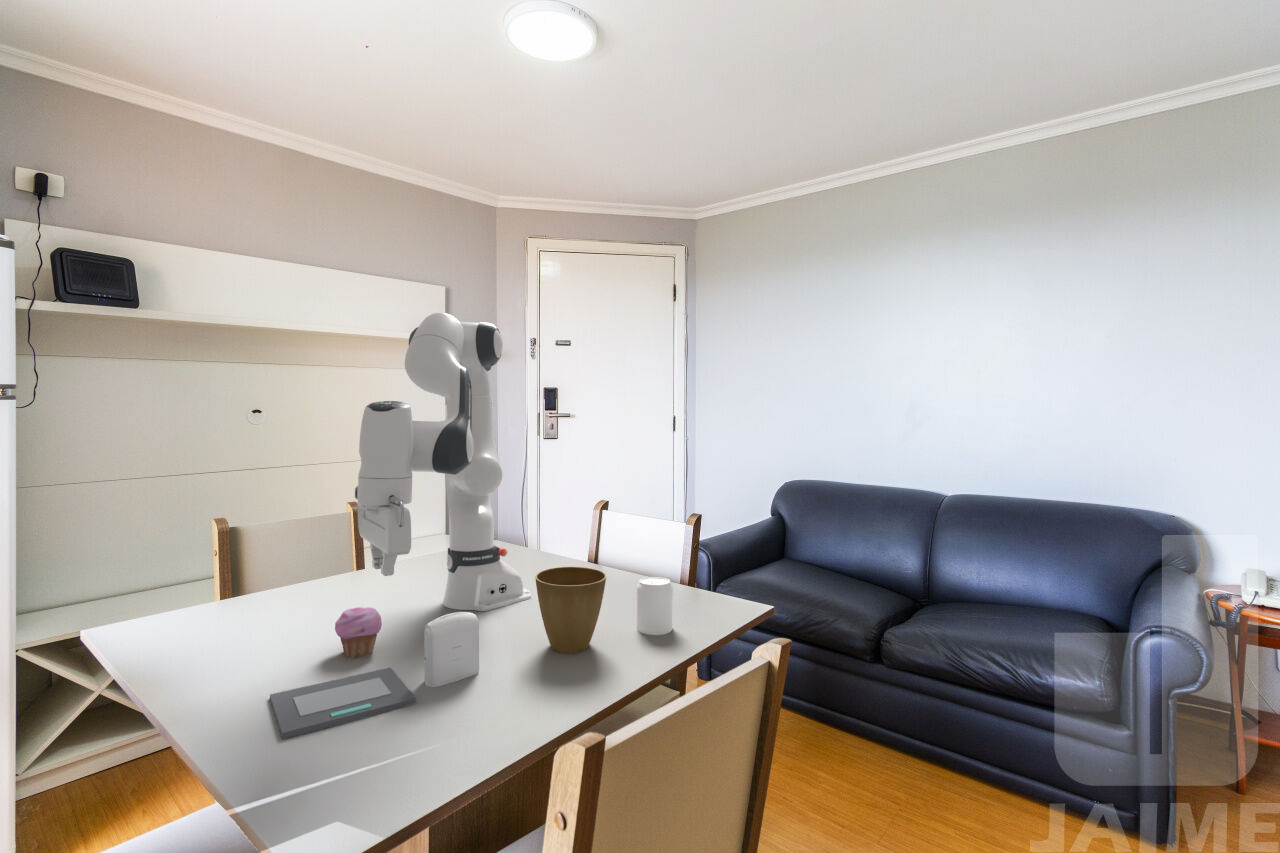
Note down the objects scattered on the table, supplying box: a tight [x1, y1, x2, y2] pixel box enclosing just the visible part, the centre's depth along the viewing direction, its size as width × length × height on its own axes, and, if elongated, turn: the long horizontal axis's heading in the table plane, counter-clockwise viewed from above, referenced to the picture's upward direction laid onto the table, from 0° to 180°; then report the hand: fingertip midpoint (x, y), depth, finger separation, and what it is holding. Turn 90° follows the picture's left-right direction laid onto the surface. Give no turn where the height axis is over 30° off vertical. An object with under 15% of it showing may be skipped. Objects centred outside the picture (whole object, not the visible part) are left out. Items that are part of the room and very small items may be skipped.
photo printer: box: [423, 611, 480, 688], centre depth 116 cm, size 10×4×12 cm, turn 132°
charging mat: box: [269, 667, 417, 740], centre depth 107 cm, size 20×16×1 cm
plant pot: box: [534, 566, 607, 655], centre depth 132 cm, size 15×15×16 cm
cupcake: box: [334, 606, 383, 660], centre depth 127 cm, size 9×9×10 cm
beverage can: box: [636, 576, 673, 636], centre depth 143 cm, size 8×8×12 cm
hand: (382, 571), depth 110 cm, fingers open, 4 cm apart
